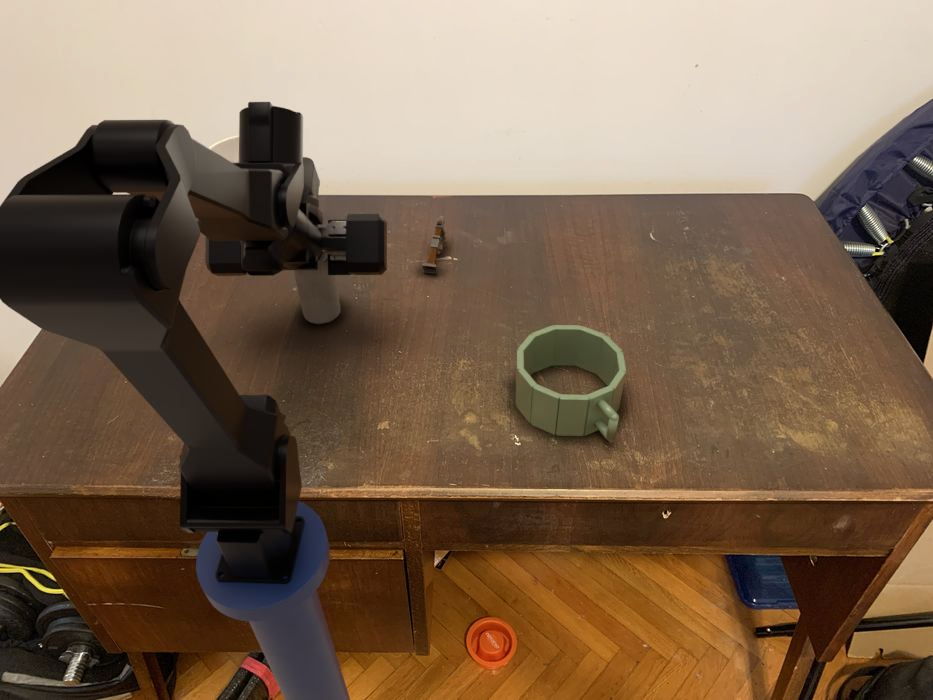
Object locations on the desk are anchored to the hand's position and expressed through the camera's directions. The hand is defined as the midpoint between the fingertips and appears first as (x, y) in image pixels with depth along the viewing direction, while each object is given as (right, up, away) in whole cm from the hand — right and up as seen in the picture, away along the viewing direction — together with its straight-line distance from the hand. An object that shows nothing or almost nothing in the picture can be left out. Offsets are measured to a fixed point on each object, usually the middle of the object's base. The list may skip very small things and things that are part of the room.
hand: (315, 258), depth 85 cm
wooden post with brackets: (+13, +1, +12) cm, 18 cm away
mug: (+29, -17, -8) cm, 34 cm away
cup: (-10, +5, +17) cm, 20 cm away
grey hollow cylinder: (0, -6, +4) cm, 7 cm away
